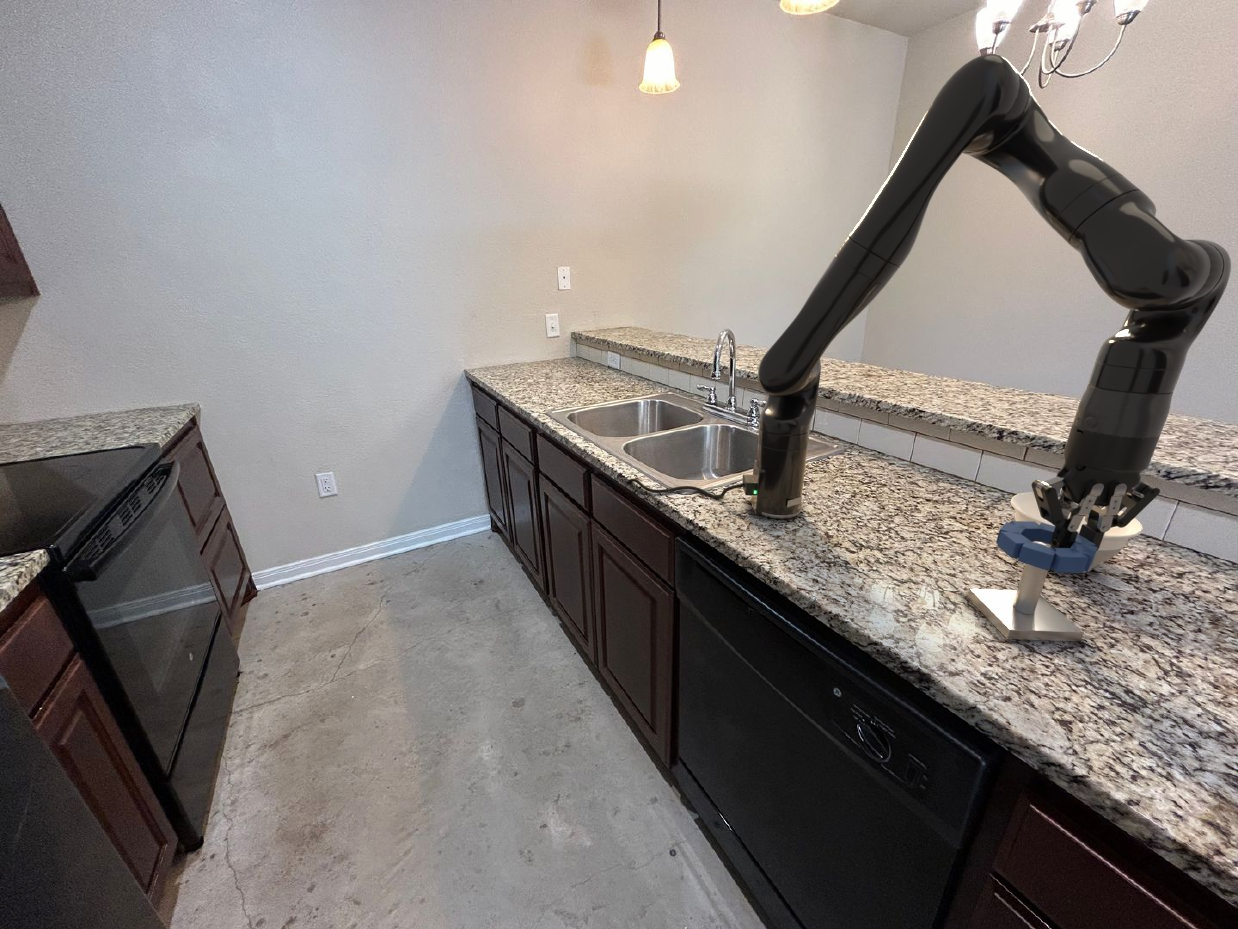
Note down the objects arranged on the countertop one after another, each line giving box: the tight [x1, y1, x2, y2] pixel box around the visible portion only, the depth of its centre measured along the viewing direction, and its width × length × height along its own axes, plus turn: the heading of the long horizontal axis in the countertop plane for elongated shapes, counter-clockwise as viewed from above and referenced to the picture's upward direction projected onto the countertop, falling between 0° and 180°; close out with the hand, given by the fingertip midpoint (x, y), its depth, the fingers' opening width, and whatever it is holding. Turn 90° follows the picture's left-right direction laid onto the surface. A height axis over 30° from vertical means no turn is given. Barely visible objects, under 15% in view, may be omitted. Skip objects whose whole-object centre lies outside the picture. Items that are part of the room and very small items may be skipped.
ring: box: [995, 520, 1098, 574], centre depth 64 cm, size 9×9×2 cm
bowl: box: [1010, 491, 1144, 574], centre depth 81 cm, size 16×16×8 cm
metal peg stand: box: [967, 541, 1085, 642], centre depth 67 cm, size 9×9×12 cm
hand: (1071, 552), depth 65 cm, fingers closed on ring, 2 cm apart
